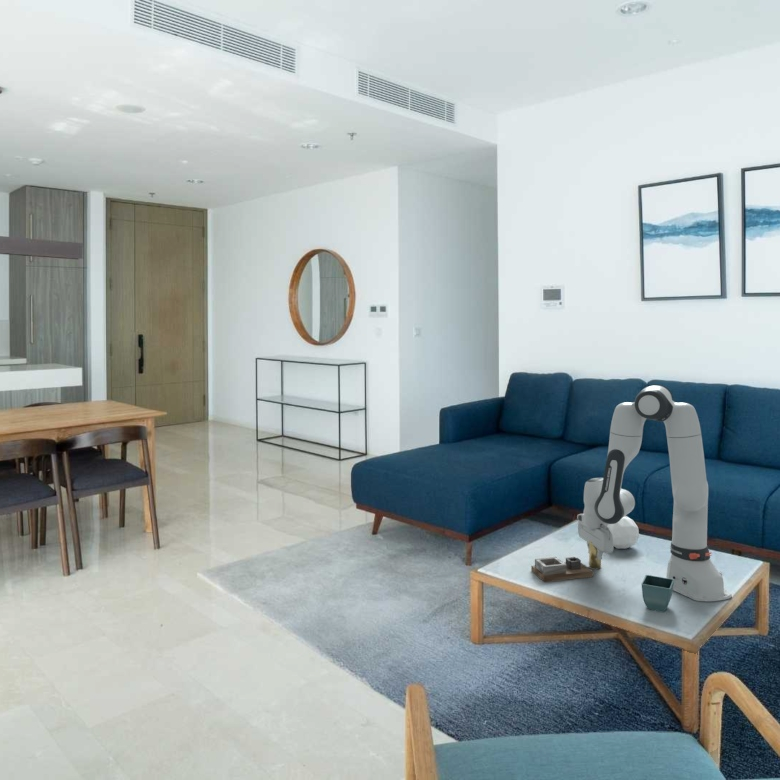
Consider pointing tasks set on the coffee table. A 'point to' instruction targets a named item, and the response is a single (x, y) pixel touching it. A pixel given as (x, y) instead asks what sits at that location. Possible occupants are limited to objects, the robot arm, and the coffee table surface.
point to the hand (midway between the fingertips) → (595, 556)
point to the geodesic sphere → (624, 533)
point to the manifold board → (560, 569)
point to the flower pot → (657, 592)
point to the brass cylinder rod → (593, 557)
